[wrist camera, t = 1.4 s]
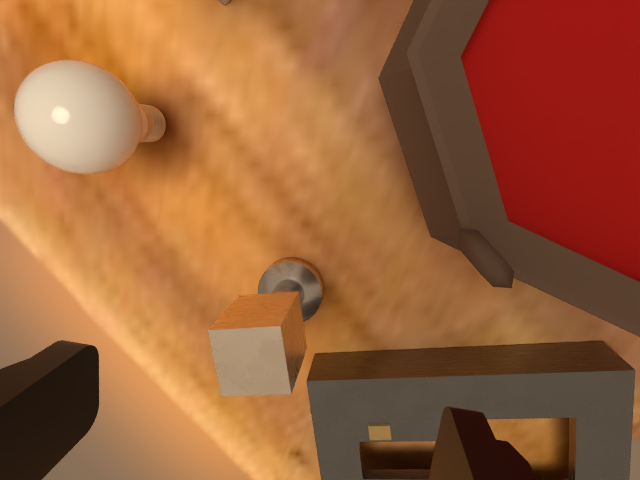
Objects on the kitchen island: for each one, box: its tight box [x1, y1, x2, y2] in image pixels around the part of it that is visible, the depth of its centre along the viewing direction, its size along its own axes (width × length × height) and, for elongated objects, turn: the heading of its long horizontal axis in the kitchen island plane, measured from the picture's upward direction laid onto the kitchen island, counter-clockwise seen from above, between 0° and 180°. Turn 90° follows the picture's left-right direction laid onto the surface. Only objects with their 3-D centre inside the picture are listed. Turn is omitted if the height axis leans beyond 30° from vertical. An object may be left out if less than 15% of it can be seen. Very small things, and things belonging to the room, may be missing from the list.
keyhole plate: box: [307, 341, 635, 480], centre depth 32 cm, size 22×14×4 cm, turn 97°
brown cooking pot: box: [379, 0, 640, 337], centre depth 19 cm, size 24×24×16 cm
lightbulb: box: [14, 60, 166, 174], centre depth 26 cm, size 6×6×11 cm
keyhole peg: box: [208, 257, 324, 396], centre depth 27 cm, size 5×5×12 cm
